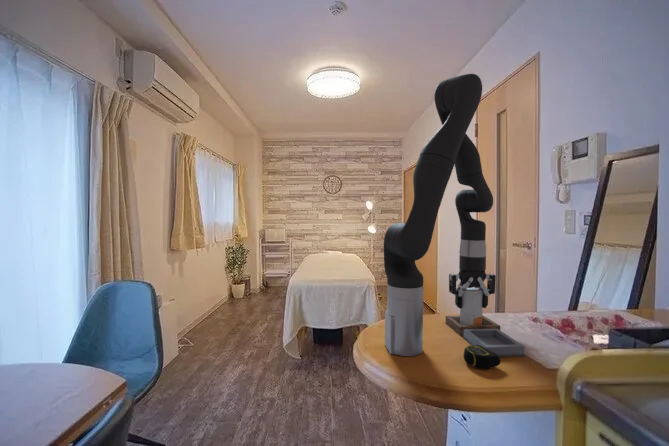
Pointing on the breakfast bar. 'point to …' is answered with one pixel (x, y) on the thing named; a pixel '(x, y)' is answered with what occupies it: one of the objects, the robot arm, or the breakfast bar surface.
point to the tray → (494, 342)
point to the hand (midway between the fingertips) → (471, 307)
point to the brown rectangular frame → (459, 329)
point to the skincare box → (471, 307)
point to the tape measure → (480, 357)
